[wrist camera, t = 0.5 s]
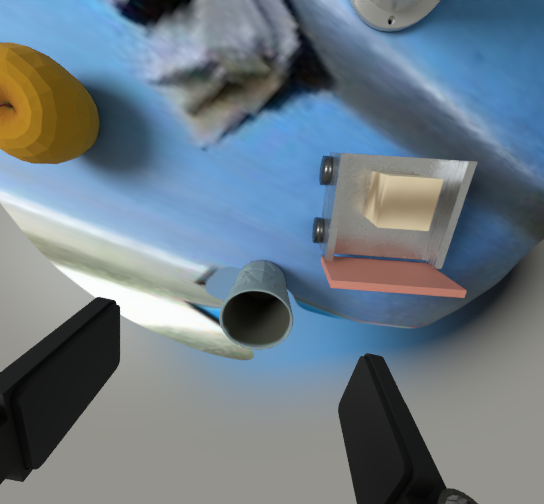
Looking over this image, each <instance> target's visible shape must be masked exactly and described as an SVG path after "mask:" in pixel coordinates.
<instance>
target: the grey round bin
mask: <svg viewBox="0 0 544 504" xmlns="http://www.w3.org/2000/svg"><path fill="white" fill-rule="evenodd" d="M219 319H220V325H221V328H222V330H223V332H224V333H225V334H226V336H227V337H228V338H229V339H230V340H231V341H233V342H234V343H236V344H237V345H240V346H242V347H244V348H249V349H259V350H261V349H268V348H271V347H274V346H276V345H278V344H280V343H281V342H282V341H284V340H285V339H286V337H287V336H288V335H289V333H290V331H291V328H292V325H293V315H292V310H291V306H290V302H289V298H288V292H287V291H286V281H285V277H284V274H283V272H282V270H281V269H280V268H279V267H278V266H277V265H276V264H274V263H272V262H270V261H266V260H256V261H251V262H250V263H248V264H247V265H245V266H244V267H243V268H242V270H241V272H240V273H239V275H238V277H237V280H236V282H235V284H234V285H233V287H232V290H231V291H230V293H229V295H228V296H227V298H226V300H225V302H224V304H223V305H222V307H221V310H220V316H219Z"/></svg>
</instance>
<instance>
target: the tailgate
mask: <svg viewBox="0 0 544 504" xmlns="http://www.w3.org/2000/svg"><path fill="white" fill-rule="evenodd" d="M321 264H322V266H323V269H324V272H325V274H326V277H327V279H328V282H329V285H330V287H331V288H340V289H354V290H367V291H380V292H393V293H406V294H420V295H433V296H446V297H459V298H464V297H465V294H466V291H467V290H466V289H464V288H463V287H461V286H460V285H458V284H457V283H455V282H454V281H452V280H451V279H449V278H448V277H447V276H445V275H444V274H442V273H441V272H439V271H438V270H436V269H435V268H433V267H432V266H431V265H429V264H428V263H418V262H405V261H391V260H377V259H364V258H350V257H336V256H333V261H327V260H325V258H324V256H323V255H321Z"/></svg>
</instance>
